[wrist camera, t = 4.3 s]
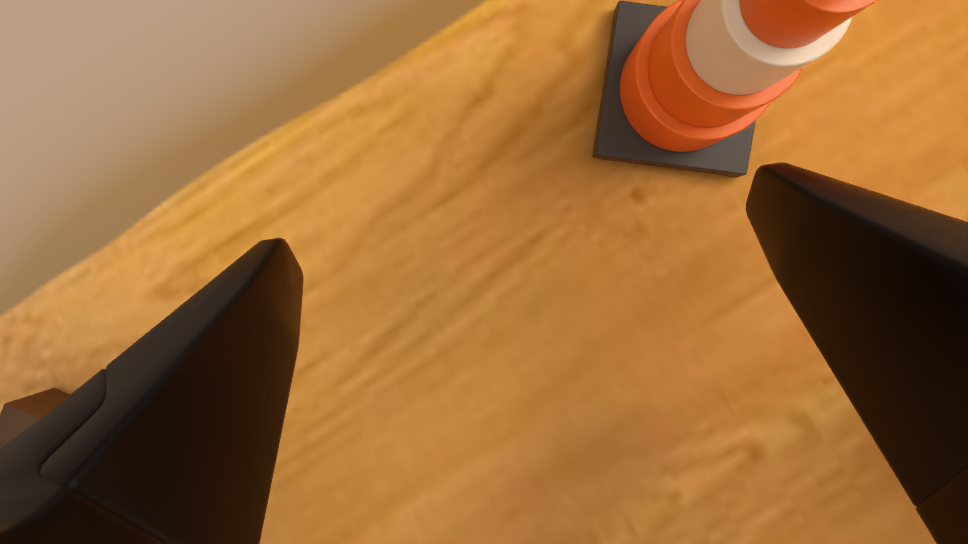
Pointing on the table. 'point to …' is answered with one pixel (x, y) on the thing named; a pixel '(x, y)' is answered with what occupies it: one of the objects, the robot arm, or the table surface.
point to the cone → (706, 76)
